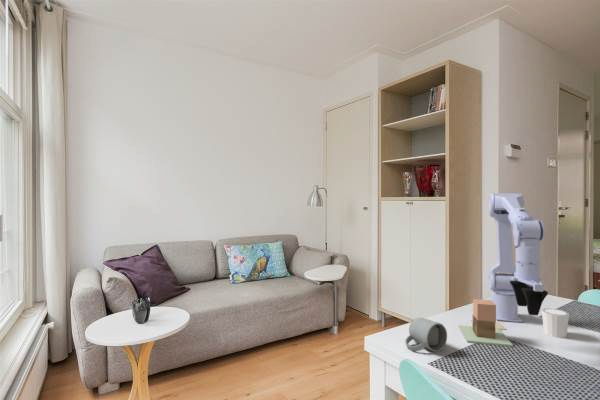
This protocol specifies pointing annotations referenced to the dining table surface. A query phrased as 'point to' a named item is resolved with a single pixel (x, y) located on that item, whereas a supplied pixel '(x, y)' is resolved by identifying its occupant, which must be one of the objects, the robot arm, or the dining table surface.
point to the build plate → (472, 338)
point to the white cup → (555, 322)
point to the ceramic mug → (426, 335)
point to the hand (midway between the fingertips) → (527, 310)
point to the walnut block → (483, 328)
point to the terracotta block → (484, 310)
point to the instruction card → (498, 325)
